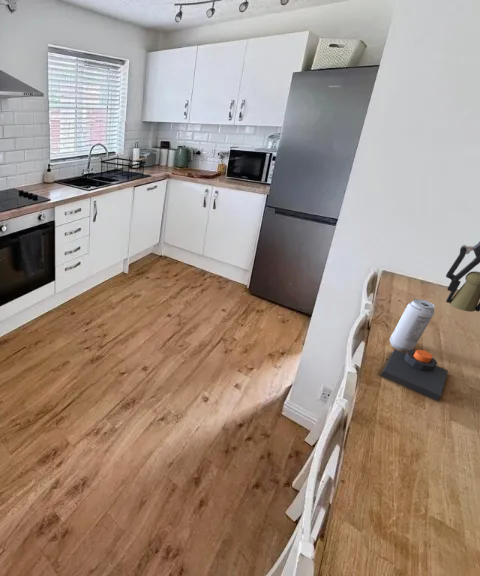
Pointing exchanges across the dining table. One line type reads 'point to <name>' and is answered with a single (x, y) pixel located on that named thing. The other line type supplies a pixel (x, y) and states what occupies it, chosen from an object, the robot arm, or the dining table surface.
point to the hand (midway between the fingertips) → (462, 305)
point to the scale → (415, 373)
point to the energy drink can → (412, 324)
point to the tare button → (423, 356)
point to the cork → (468, 293)
